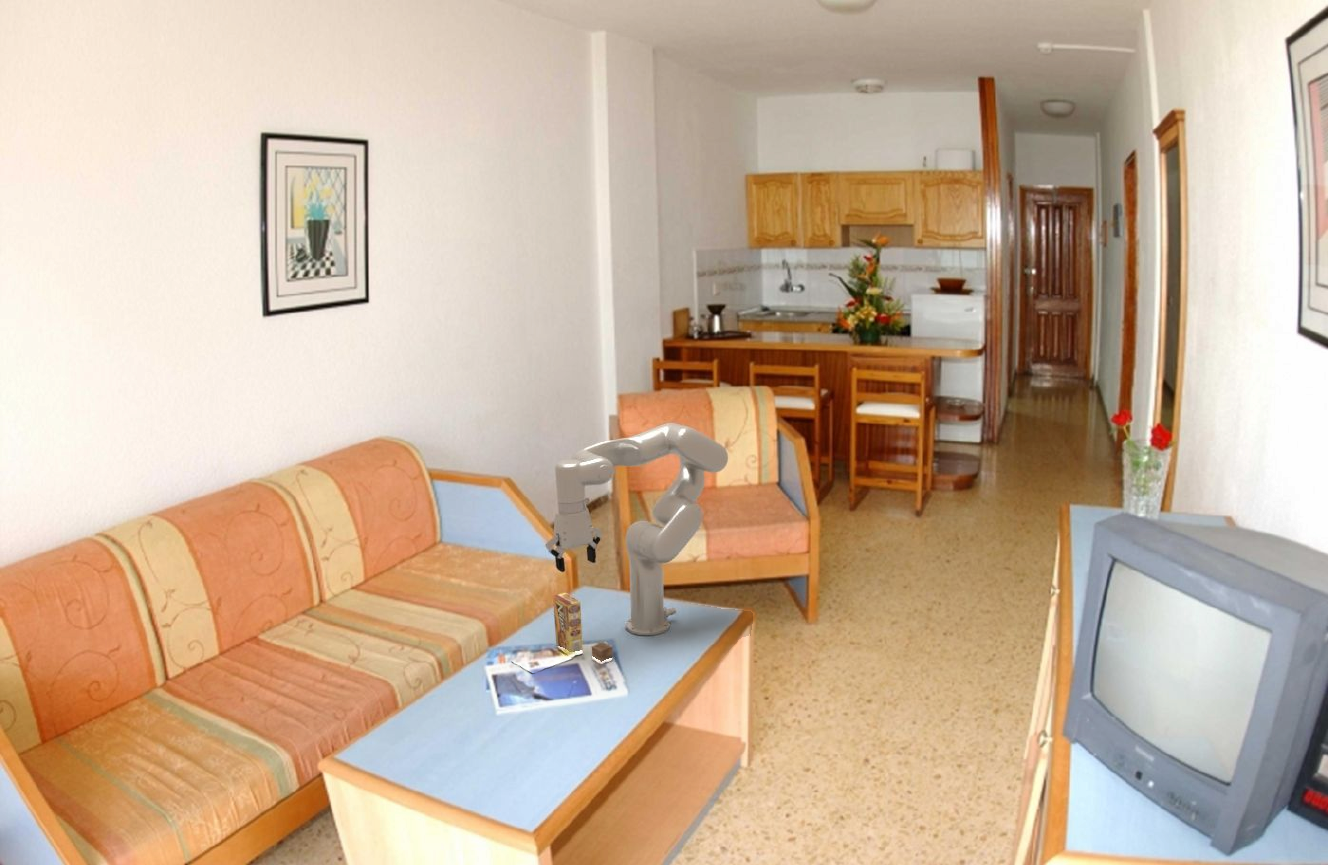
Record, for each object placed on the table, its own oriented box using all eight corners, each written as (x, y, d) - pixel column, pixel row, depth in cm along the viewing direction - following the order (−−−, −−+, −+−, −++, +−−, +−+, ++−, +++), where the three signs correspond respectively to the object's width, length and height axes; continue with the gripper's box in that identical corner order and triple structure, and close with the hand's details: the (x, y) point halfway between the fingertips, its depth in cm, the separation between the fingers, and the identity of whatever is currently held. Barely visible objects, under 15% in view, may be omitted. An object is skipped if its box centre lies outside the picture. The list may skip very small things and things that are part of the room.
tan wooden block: (603, 655, 274) (603, 642, 273) (613, 660, 271) (612, 646, 270) (592, 660, 271) (591, 646, 270) (601, 665, 268) (600, 651, 267)
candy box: (583, 654, 275) (581, 601, 271) (570, 658, 272) (567, 605, 269) (568, 643, 282) (566, 591, 279) (554, 647, 280) (552, 595, 276)
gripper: (592, 496, 278) (596, 554, 282) (536, 509, 268) (541, 570, 272) (606, 502, 272) (610, 561, 276) (550, 516, 262) (555, 578, 266)
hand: (576, 566), depth 274 cm, fingers open, 9 cm apart
